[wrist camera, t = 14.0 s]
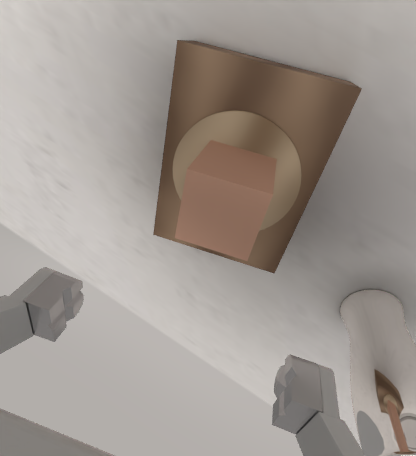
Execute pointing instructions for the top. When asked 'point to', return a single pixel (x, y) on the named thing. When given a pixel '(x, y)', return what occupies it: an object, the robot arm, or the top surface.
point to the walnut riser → (251, 133)
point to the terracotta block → (225, 199)
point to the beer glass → (381, 373)
